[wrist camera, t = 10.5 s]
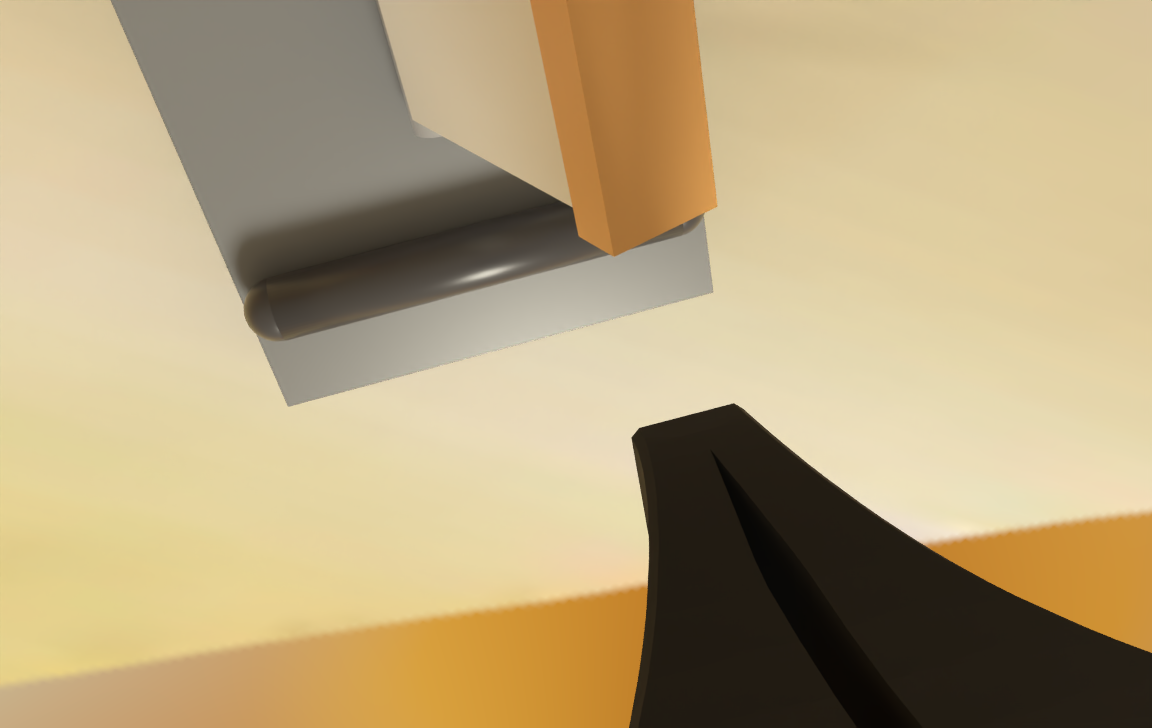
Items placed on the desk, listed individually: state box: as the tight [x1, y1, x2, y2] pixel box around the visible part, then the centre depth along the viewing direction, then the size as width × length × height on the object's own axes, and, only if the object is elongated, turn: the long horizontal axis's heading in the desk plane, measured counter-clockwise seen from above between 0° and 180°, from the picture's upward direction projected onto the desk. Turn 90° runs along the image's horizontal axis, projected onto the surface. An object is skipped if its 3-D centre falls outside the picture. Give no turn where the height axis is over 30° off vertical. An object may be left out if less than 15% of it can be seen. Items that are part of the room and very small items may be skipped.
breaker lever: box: [376, 0, 717, 257], centre depth 14 cm, size 2×5×7 cm, turn 11°
